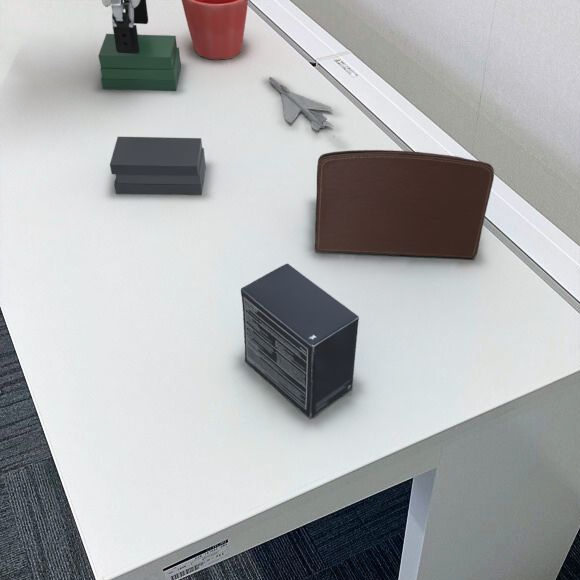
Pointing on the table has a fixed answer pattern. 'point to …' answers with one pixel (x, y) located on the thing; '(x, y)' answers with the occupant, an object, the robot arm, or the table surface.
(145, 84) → the green book stack
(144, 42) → the green book
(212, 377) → the table surface
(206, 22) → the flower pot
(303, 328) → the small box
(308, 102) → the toy airplane
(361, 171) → the letter holder
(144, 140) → the grey book stack
